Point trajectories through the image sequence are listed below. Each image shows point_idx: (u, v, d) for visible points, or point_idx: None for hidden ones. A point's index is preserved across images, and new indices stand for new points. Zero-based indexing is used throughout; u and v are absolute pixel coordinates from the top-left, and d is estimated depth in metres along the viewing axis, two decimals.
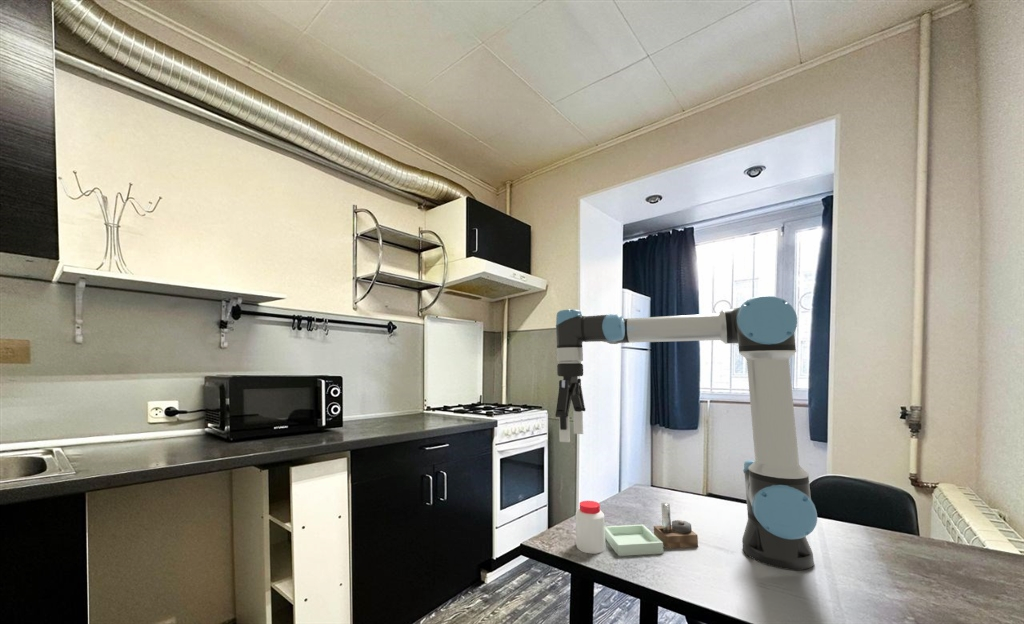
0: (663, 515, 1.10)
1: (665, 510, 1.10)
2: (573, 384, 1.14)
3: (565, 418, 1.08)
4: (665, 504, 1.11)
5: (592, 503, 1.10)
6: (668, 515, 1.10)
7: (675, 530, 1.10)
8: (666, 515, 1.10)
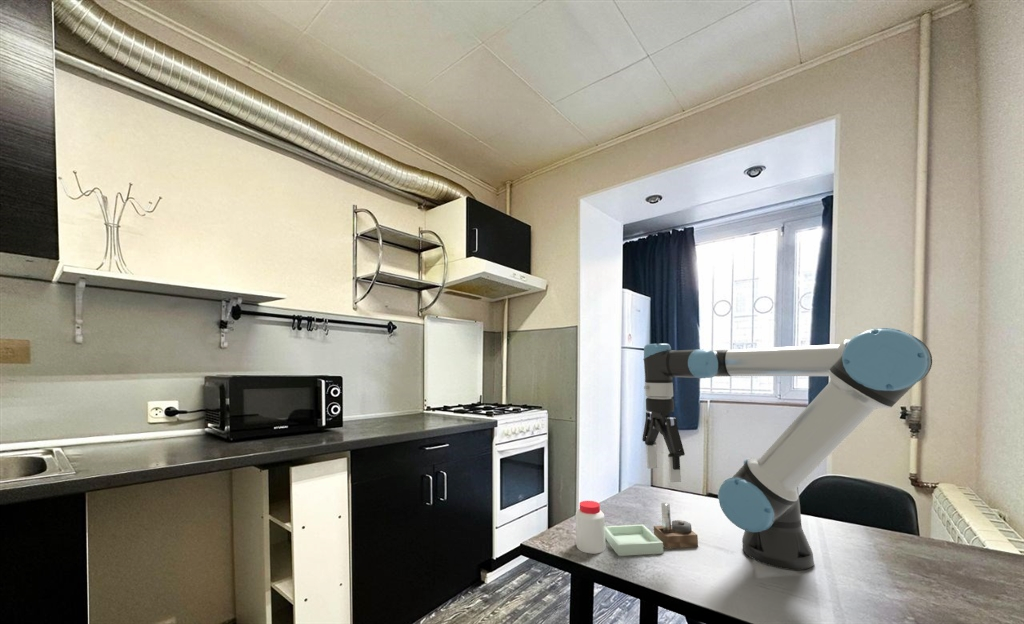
0: (663, 515, 1.10)
1: (665, 510, 1.10)
2: None
3: None
4: (665, 504, 1.11)
5: (592, 503, 1.10)
6: (668, 515, 1.10)
7: (675, 530, 1.10)
8: (666, 515, 1.10)
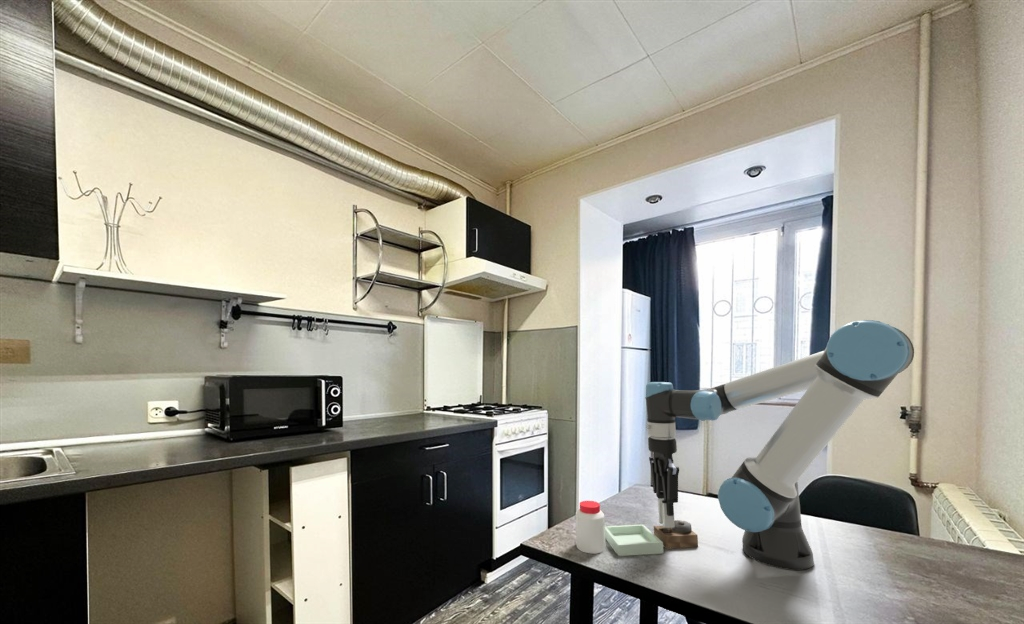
0: None
1: None
2: None
3: None
4: None
5: (592, 503, 1.10)
6: None
7: (675, 530, 1.10)
8: None
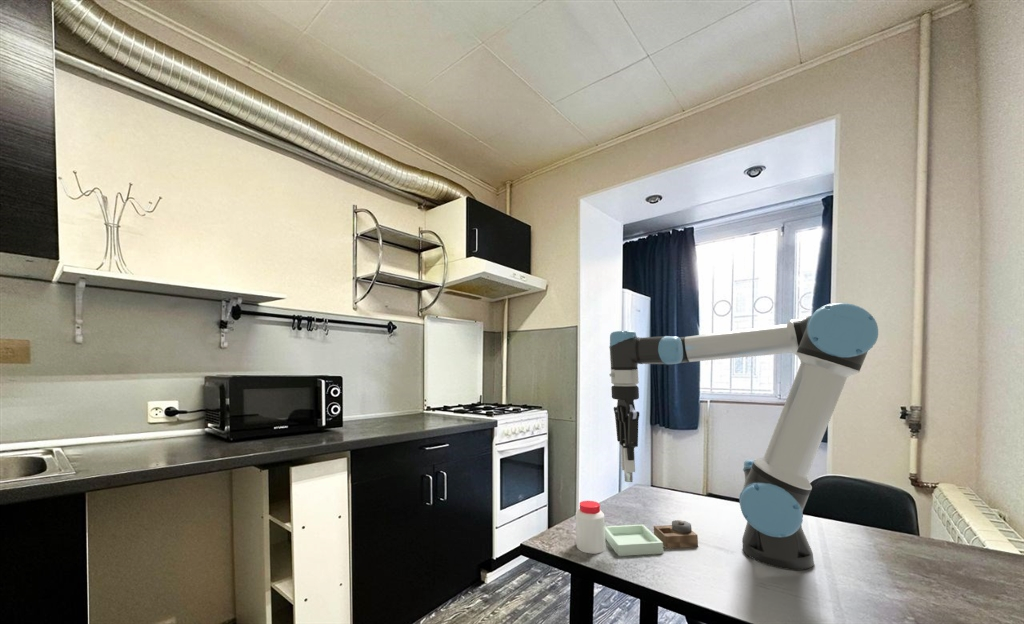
0: None
1: None
2: None
3: None
4: None
5: (592, 503, 1.10)
6: None
7: (675, 530, 1.10)
8: None
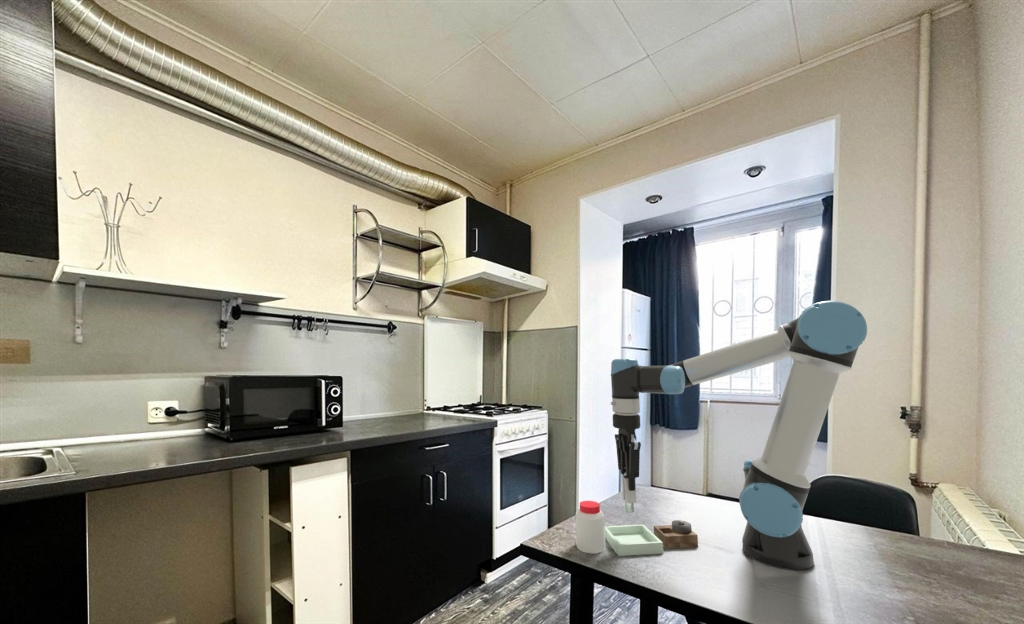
0: None
1: None
2: None
3: None
4: None
5: (592, 503, 1.10)
6: None
7: (675, 530, 1.10)
8: None
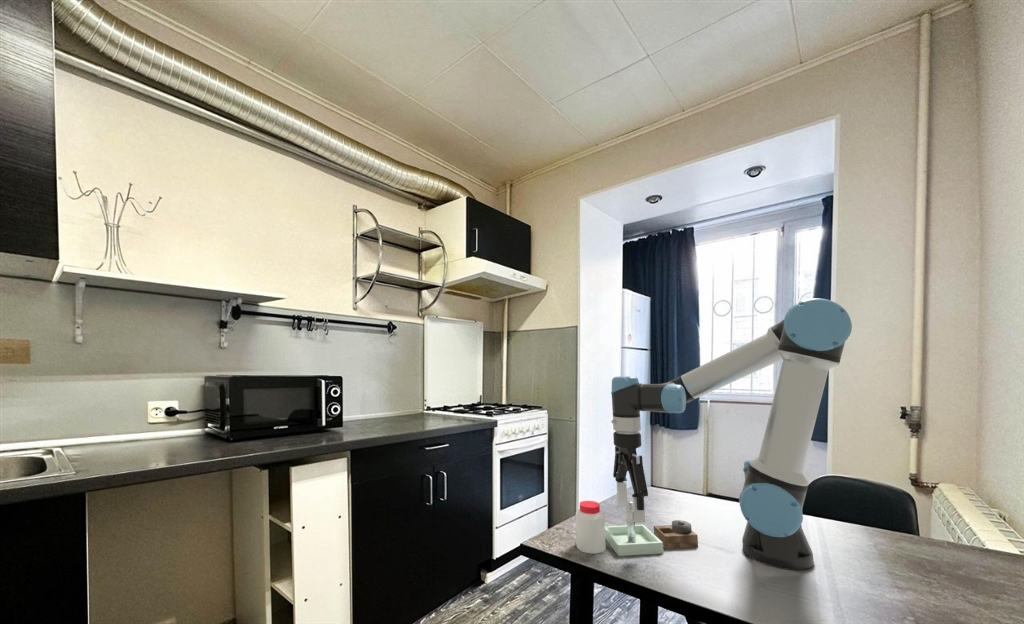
0: (627, 513, 1.10)
1: (629, 507, 1.10)
2: None
3: None
4: (629, 502, 1.11)
5: (592, 503, 1.10)
6: (632, 513, 1.10)
7: (675, 530, 1.10)
8: (630, 513, 1.10)
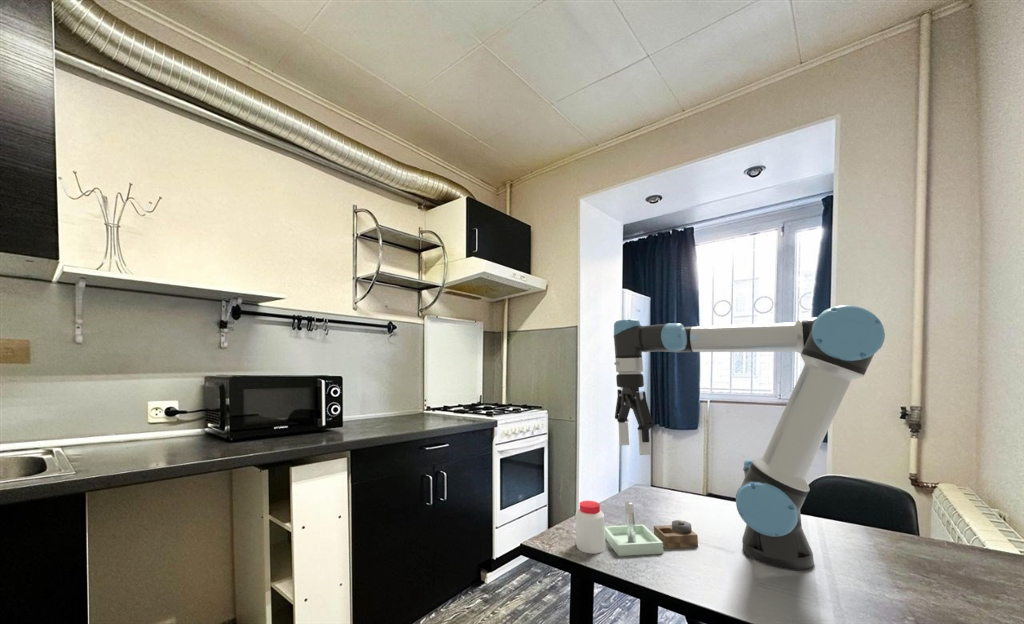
0: (627, 514, 1.09)
1: (628, 509, 1.09)
2: None
3: None
4: (629, 503, 1.10)
5: (592, 503, 1.10)
6: (631, 514, 1.09)
7: (675, 530, 1.10)
8: (629, 514, 1.09)
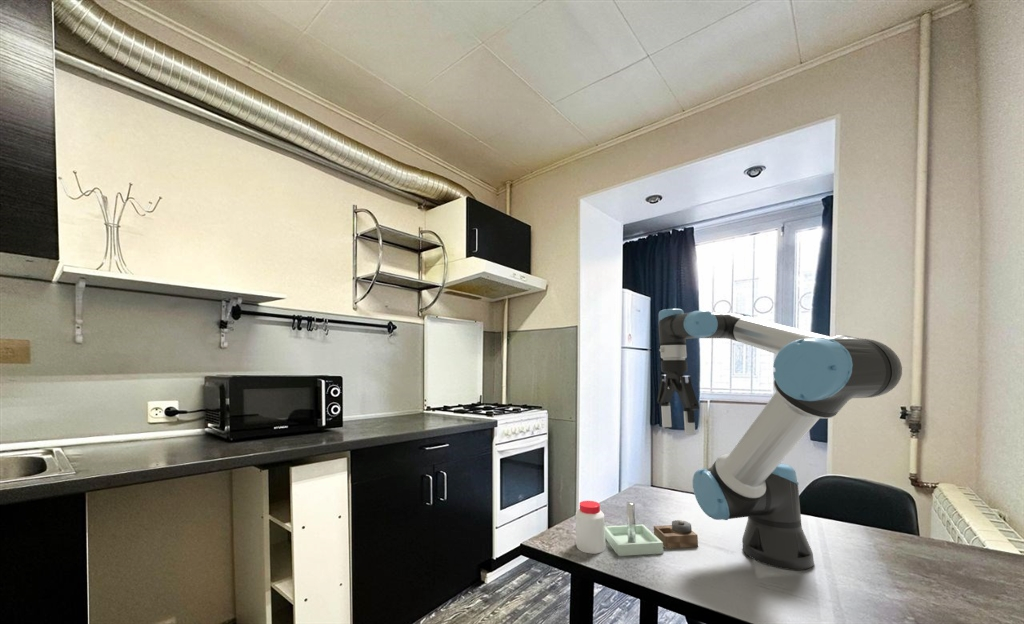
0: (628, 514, 1.09)
1: (629, 509, 1.09)
2: None
3: None
4: (630, 503, 1.10)
5: (592, 503, 1.10)
6: (632, 514, 1.09)
7: (675, 530, 1.10)
8: (630, 515, 1.09)
